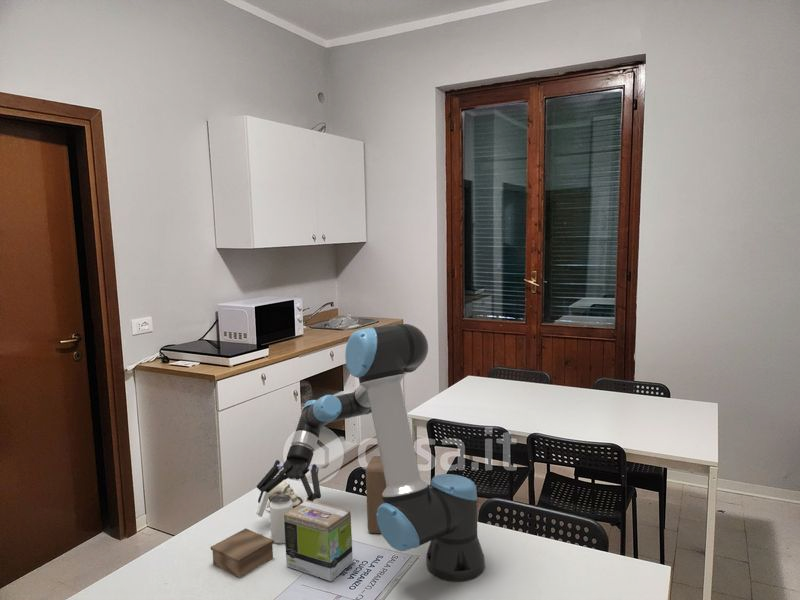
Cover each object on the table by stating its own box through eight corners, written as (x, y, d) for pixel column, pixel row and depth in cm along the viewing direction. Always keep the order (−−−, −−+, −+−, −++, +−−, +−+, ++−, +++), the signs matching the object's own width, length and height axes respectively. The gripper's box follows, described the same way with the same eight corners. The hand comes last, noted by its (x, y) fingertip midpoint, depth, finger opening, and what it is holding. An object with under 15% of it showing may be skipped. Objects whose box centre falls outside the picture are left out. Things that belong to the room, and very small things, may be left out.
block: (401, 536, 163) (399, 469, 161) (367, 534, 165) (364, 467, 163) (406, 519, 173) (404, 455, 171) (374, 517, 175) (372, 454, 172)
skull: (310, 495, 189) (300, 481, 182) (299, 525, 183) (288, 513, 175) (279, 489, 193) (267, 476, 186) (267, 519, 187) (254, 507, 179)
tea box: (354, 563, 150) (352, 509, 149) (330, 583, 142) (328, 527, 140) (309, 548, 158) (307, 497, 156) (285, 567, 149) (282, 513, 148)
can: (296, 532, 167) (295, 493, 165) (290, 544, 160) (288, 504, 159) (275, 532, 167) (273, 493, 166) (268, 544, 161) (266, 503, 160)
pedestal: (274, 557, 154) (273, 540, 153) (239, 579, 144) (238, 560, 144) (246, 545, 161) (245, 528, 160) (211, 564, 151) (210, 546, 151)
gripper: (343, 457, 174) (323, 528, 162) (271, 450, 182) (247, 517, 169) (335, 447, 168) (314, 519, 156) (261, 439, 176) (236, 508, 164)
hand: (279, 518), depth 163 cm, fingers open, 13 cm apart
